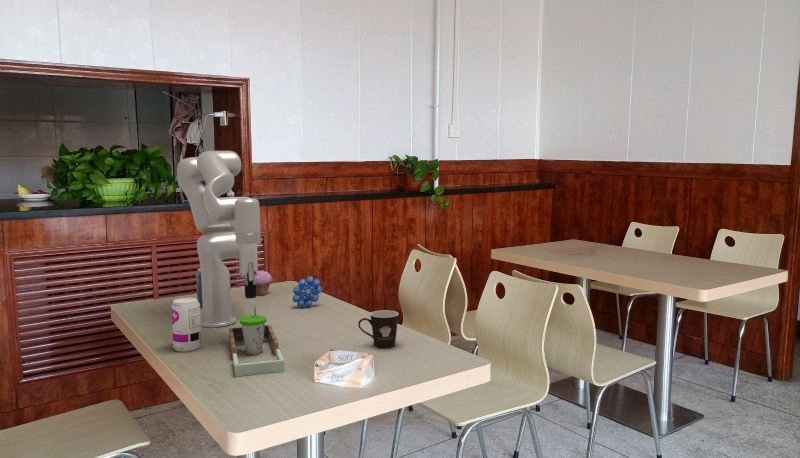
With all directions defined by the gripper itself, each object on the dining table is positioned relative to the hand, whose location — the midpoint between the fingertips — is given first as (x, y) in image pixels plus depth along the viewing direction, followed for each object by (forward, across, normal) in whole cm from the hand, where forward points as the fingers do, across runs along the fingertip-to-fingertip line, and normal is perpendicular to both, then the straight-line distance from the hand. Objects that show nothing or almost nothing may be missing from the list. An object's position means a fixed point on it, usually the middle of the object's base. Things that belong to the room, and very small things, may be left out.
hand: (250, 297), depth 194 cm
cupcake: (+13, -68, +10) cm, 70 cm away
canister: (+14, -56, -10) cm, 58 cm away
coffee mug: (+15, +14, +37) cm, 43 cm away
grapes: (+14, -40, +24) cm, 49 cm away
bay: (+15, +23, 0) cm, 27 cm away
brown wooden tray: (+15, +5, 0) cm, 15 cm away
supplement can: (+15, -2, -19) cm, 24 cm away
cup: (+15, +9, 0) cm, 18 cm away
